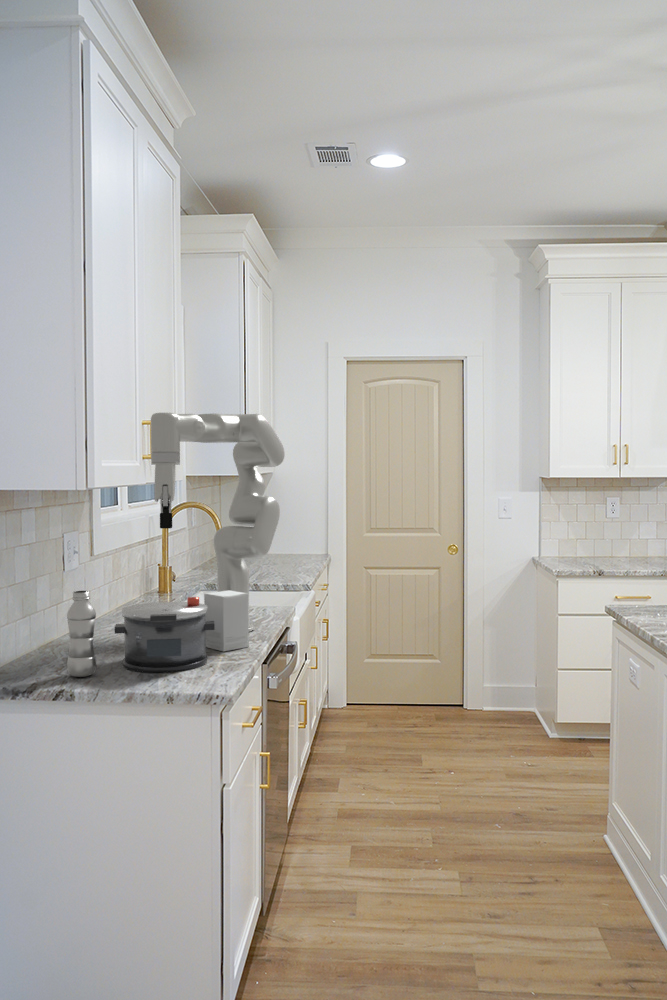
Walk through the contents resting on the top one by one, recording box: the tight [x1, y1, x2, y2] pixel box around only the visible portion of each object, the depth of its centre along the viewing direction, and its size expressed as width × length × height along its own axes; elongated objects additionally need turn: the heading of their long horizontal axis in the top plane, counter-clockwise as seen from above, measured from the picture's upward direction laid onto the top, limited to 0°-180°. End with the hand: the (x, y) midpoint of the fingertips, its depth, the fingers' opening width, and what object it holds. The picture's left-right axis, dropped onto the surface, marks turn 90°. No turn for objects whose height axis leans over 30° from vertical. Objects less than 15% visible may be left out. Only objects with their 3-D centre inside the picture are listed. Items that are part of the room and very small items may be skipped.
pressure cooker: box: [114, 615, 215, 674], centre depth 199 cm, size 22×24×12 cm
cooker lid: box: [121, 596, 207, 621], centre depth 197 cm, size 23×21×4 cm
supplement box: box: [203, 590, 250, 652], centre depth 217 cm, size 9×9×15 cm
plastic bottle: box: [66, 590, 97, 678], centre depth 186 cm, size 6×7×20 cm
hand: (166, 528), depth 211 cm, fingers closed
